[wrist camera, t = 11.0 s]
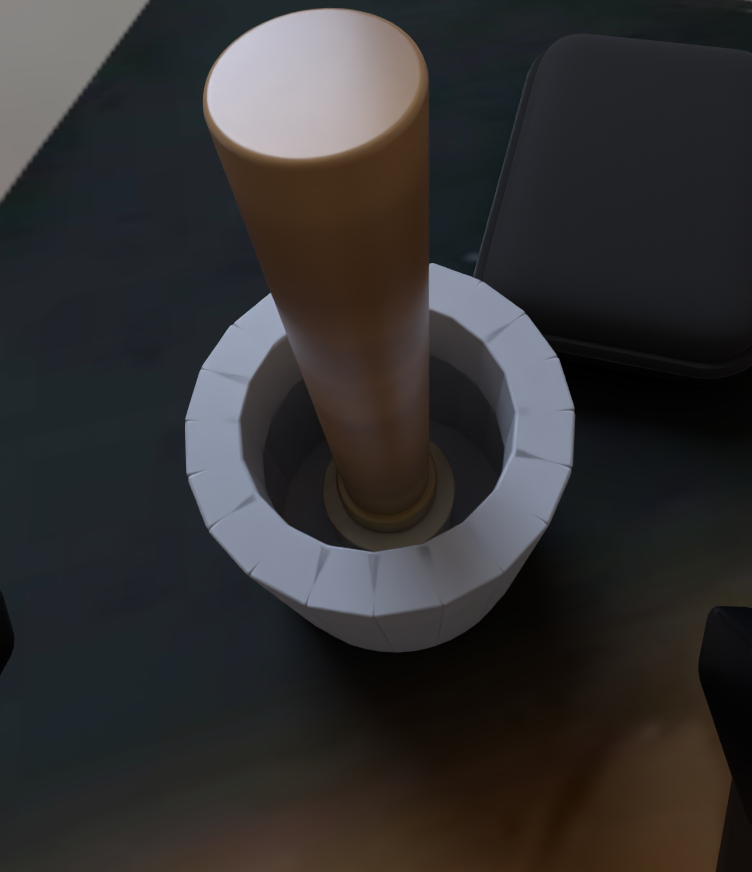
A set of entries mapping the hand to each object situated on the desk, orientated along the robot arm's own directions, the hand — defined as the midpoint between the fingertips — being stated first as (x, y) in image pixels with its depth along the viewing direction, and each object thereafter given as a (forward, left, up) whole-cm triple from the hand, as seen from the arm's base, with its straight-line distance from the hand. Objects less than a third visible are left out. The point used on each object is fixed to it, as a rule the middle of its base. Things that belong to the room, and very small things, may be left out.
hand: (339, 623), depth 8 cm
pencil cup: (+5, -1, -11) cm, 12 cm away
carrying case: (+15, -12, -12) cm, 22 cm away
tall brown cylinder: (+4, -1, -11) cm, 12 cm away
